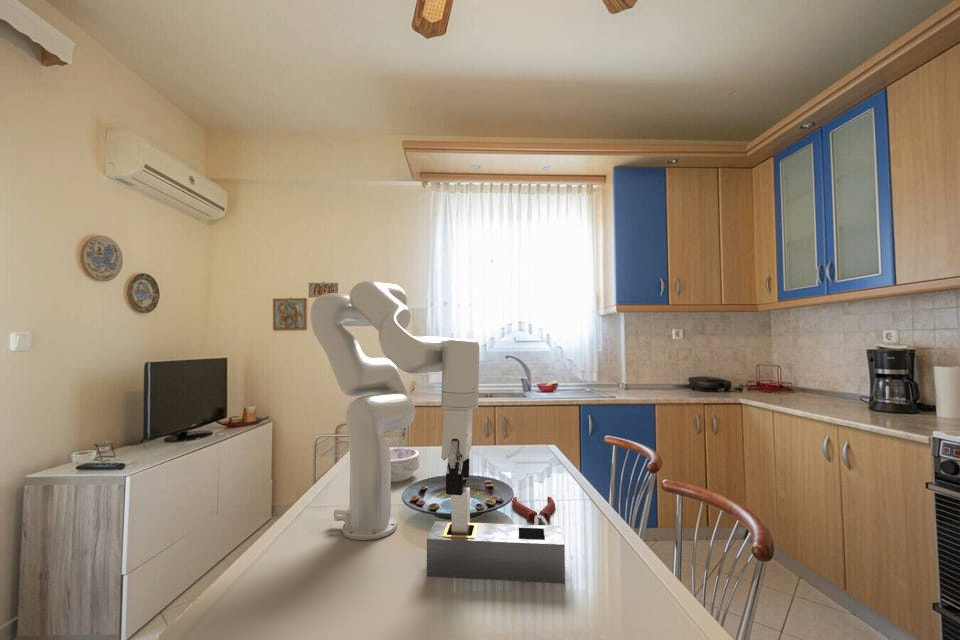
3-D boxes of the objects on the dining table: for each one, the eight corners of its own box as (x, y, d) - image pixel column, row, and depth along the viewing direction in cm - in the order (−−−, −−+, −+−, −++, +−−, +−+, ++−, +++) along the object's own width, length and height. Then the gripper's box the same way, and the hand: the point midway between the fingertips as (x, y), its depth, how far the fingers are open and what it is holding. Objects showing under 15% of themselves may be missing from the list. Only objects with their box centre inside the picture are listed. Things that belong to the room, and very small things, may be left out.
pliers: (518, 538, 99) (518, 526, 99) (511, 504, 119) (511, 495, 119) (568, 537, 99) (568, 526, 99) (552, 504, 119) (552, 494, 119)
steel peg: (451, 560, 84) (451, 492, 85) (454, 552, 87) (454, 487, 88) (467, 561, 84) (467, 493, 84) (469, 553, 87) (469, 487, 88)
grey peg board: (426, 576, 82) (426, 537, 83) (435, 555, 90) (435, 520, 91) (564, 583, 80) (564, 543, 80) (561, 561, 88) (560, 525, 88)
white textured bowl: (362, 483, 136) (363, 457, 136) (386, 469, 151) (387, 446, 151) (406, 487, 132) (406, 461, 132) (427, 472, 146) (427, 449, 147)
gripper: (448, 393, 96) (447, 470, 96) (432, 406, 79) (430, 501, 79) (482, 394, 95) (480, 472, 95) (473, 408, 78) (471, 503, 78)
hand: (458, 485), depth 87 cm, fingers open, 9 cm apart
